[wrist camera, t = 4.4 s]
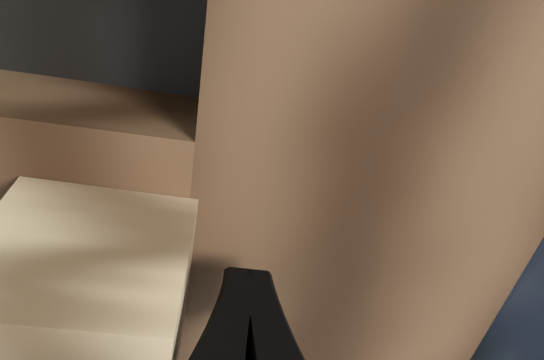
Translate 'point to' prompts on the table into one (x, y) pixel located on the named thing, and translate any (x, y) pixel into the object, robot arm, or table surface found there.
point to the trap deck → (304, 149)
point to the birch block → (93, 272)
